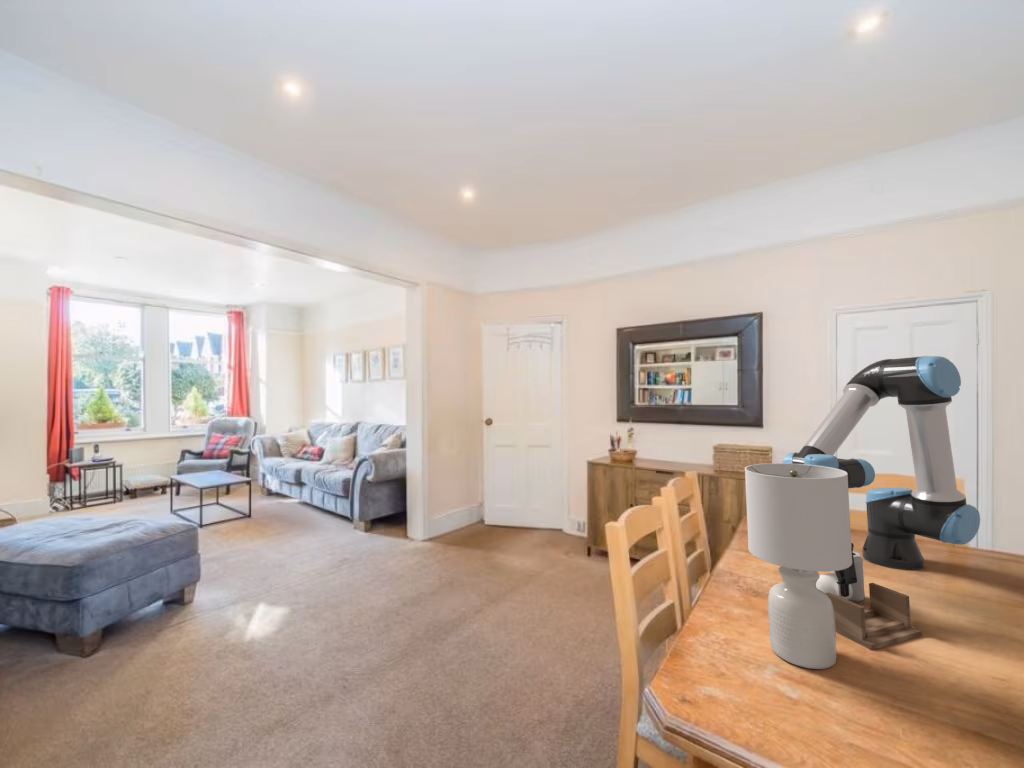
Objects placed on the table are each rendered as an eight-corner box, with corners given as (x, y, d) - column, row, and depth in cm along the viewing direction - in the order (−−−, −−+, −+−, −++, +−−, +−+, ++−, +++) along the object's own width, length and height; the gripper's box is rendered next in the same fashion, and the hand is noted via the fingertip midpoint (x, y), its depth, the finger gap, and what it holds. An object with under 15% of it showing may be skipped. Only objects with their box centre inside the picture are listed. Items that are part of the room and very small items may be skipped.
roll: (827, 593, 124) (826, 568, 124) (853, 605, 117) (852, 578, 117) (801, 599, 121) (801, 573, 121) (827, 611, 114) (826, 583, 114)
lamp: (737, 631, 106) (729, 464, 107) (818, 630, 106) (810, 462, 106) (782, 683, 87) (773, 479, 88) (882, 681, 87) (871, 476, 88)
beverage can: (870, 603, 117) (867, 557, 118) (842, 602, 119) (840, 556, 119) (856, 593, 123) (854, 548, 124) (830, 591, 125) (828, 548, 125)
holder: (866, 611, 113) (864, 579, 114) (921, 635, 102) (919, 599, 102) (818, 623, 109) (816, 589, 109) (871, 649, 97) (869, 612, 97)
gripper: (779, 506, 128) (783, 588, 127) (851, 525, 109) (855, 621, 108) (799, 503, 130) (803, 584, 129) (873, 521, 111) (878, 616, 110)
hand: (827, 601), depth 119 cm, fingers closed on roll, 7 cm apart
